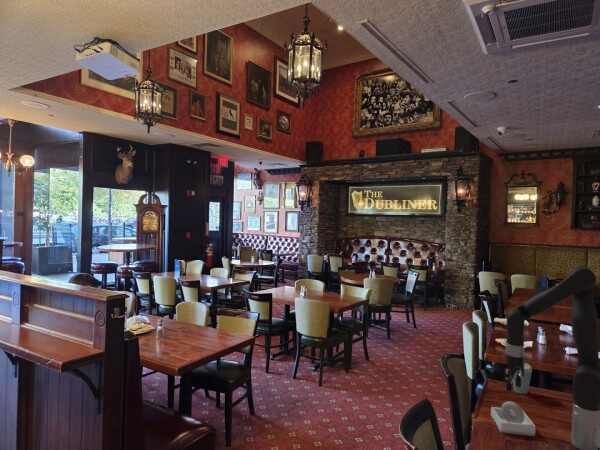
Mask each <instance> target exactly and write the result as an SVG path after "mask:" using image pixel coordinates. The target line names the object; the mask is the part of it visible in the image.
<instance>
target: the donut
mask: <svg viewBox="0 0 600 450" xmlns="http://www.w3.org/2000/svg"><path fill="white" fill-rule="evenodd" d="M500 408H501V411H502V415H503V417H504V418H505V419H506V420H507V421H508V422H510V423H519V424H521V423H522V422H523V421H524V413H523V411H524V409H522V407H521V406H520V405H518V404H517V402H514V401H511V400H509V401H505V402H503V403H502V405H501V407H500ZM510 409H512V410H513V411H514V412H515V414H516V416H515V417H513V416H512V415H511V414H510V412H509V410H510Z"/></svg>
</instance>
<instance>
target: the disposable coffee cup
mask: <svg viewBox="0 0 600 450" xmlns="http://www.w3.org/2000/svg"><path fill="white" fill-rule="evenodd" d="M521 372H522V371H521ZM532 372H533V367H532V366H531V365H530V364H529V363H527V362H524V377H522V379H521V387H517V386H516V385H515V383H516V378H517V377H515V379H514V380H513V382H512V386H513V390H514V391H515V393H518V394H520V395H521V394H523V395H527V394H528V392H529V387H530V385H531V384H530V383H531V379H532V378H531V377H532ZM512 377H513V376H512Z"/></svg>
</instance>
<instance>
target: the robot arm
mask: <svg viewBox="0 0 600 450" xmlns="http://www.w3.org/2000/svg"><path fill="white" fill-rule="evenodd" d="M596 282H597V276H596V274H595V272H594V271H593V270H591V269H590V268H589V267H587V266H581V265H579V266H575V267H573V268H572V269H571V270H570V271H569V273H568V276H566V278H564V279H563V280H562V281H561V282H559V283H558V284H555V285H554V286H552V287H550V288H548V289H546V290H544V291H541V292H539V293H538V294H535V296H533V297H531V298H529V299H528V300H526V301H525V302H523V303H522V304H519V305H516V306H515V307H513V308H512V309H510V310H509V311H508V312H507V315H506V343H505V355H504V356H505V357H504V359H505V360H504V362H505V364H507V365H508V367H507V368H504V369H503V382H504V383H506V384H505V387H506V388H505V390H506V391H507V392H510V393H511V392H513V380H514V379H515V377H517V378H516V383H515V385H516V386H517V387H521V379H522V377H524V363H525V334H524V331H525V330H524V329H525V321H526V320H528V319H531V317H535V316H538V315H540V314H541V313H543V312H545V311H547V310H548V309H550V308H552V307H553V306H555V305H556V304H558V303H560V302H561V301H563V300H566V299H567V298H569V297H571V296H572V300H571V302H572V303H571V334H572V337H573V342H574V345H575V347H576V352H577V367H576V371H575V372H574V374H573V379H572V398H573V401H572V415H571V416H572V418H571V420H572V421H571V422H572V423H571V437H570V438H571V439H570V442H572V443H571V445H573V446H574V447H575V448H577V449H579V450H598V449H599V448H600V356H599V355H600V354H599V353H600V352H599V350H600V330H599V329H600V328H599V319H598V318H599V317H598V313H597V309H596V306H595V302H594V286H595V285H596ZM521 371H522V372H521ZM512 376H513V377H512ZM599 450H600V449H599Z"/></svg>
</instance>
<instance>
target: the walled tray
mask: <svg viewBox="0 0 600 450" xmlns="http://www.w3.org/2000/svg"><path fill="white" fill-rule="evenodd" d="M490 407H491V408H490V417H491V416H492V417H491V419H492V418H493V419H494V421H495V422H496V424H495V425H497V426H496V427H497V428H498V430H499V432H500V433H503V434H511V435H522V436H531V437H535V436H536V425H535V424H534V422H533V421H532V419H530V417H529V416H528V415H527V413H526V412H525V411H524V410H523V413H524V421H523V422H522V423H521V424H519V423H510V422H508V421H507V420H506V419H505V418H504V417H503V415H502V411H501V408H502V407H495V406H490ZM509 412H510V414H511V415H512V416H513V417H515V416H516V414H515V412H514V411H513V410H512V409H510V410H509ZM493 419H492V420H493ZM494 421H493V422H494ZM495 422H494V423H495Z"/></svg>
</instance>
